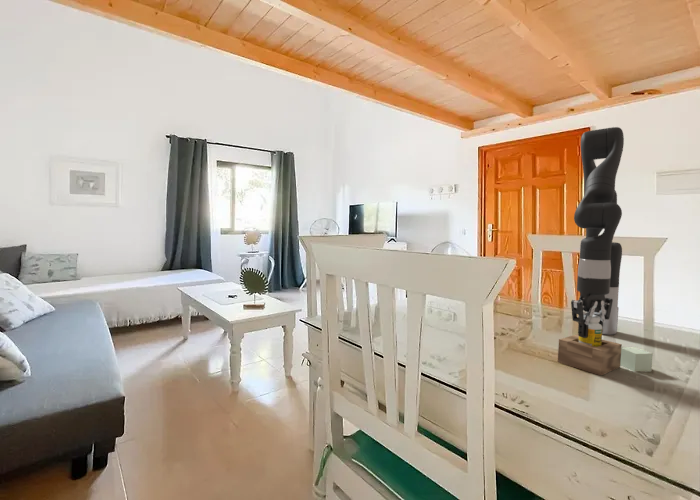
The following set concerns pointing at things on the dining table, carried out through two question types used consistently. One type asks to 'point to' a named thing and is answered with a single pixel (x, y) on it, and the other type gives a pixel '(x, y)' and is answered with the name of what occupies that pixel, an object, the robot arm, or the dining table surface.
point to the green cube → (636, 359)
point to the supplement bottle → (593, 332)
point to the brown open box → (589, 355)
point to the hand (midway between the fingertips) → (590, 335)
